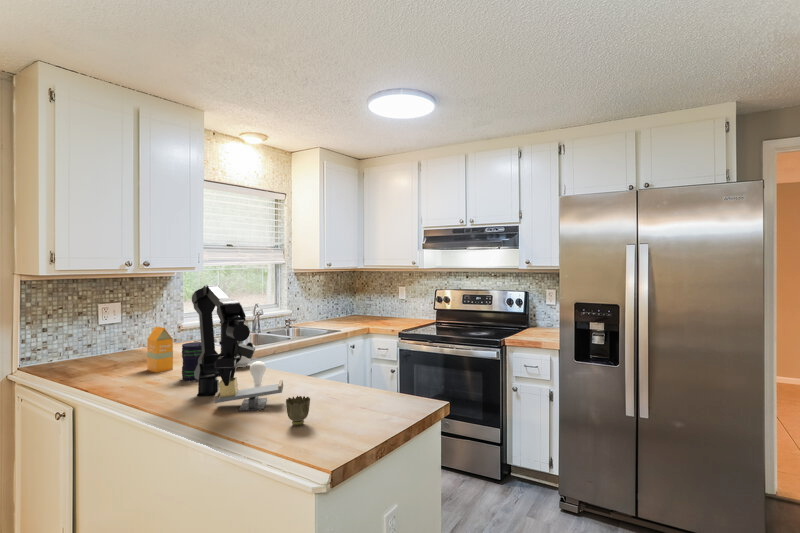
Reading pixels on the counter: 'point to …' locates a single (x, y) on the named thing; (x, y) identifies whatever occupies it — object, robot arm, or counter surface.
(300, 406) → the cup
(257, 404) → the pivot stand
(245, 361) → the teacup
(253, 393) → the beam
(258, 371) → the lightbulb
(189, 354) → the dark blue cylinder
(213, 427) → the counter surface
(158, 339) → the orange juice
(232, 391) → the golden cube
